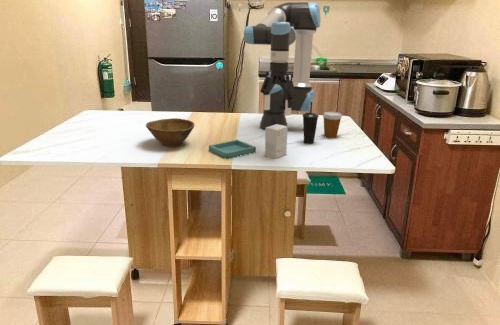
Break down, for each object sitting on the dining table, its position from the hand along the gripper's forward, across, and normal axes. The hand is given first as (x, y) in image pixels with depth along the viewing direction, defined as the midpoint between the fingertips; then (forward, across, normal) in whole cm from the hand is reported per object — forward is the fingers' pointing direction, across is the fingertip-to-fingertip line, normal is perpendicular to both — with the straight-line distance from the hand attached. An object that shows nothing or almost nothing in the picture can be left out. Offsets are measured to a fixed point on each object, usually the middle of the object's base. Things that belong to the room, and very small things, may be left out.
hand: (277, 112), depth 173 cm
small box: (+20, 0, +1) cm, 20 cm away
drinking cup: (+19, -5, +27) cm, 33 cm away
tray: (+19, -15, -12) cm, 28 cm away
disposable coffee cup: (+19, -6, +44) cm, 48 cm away
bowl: (+20, -41, -29) cm, 54 cm away
